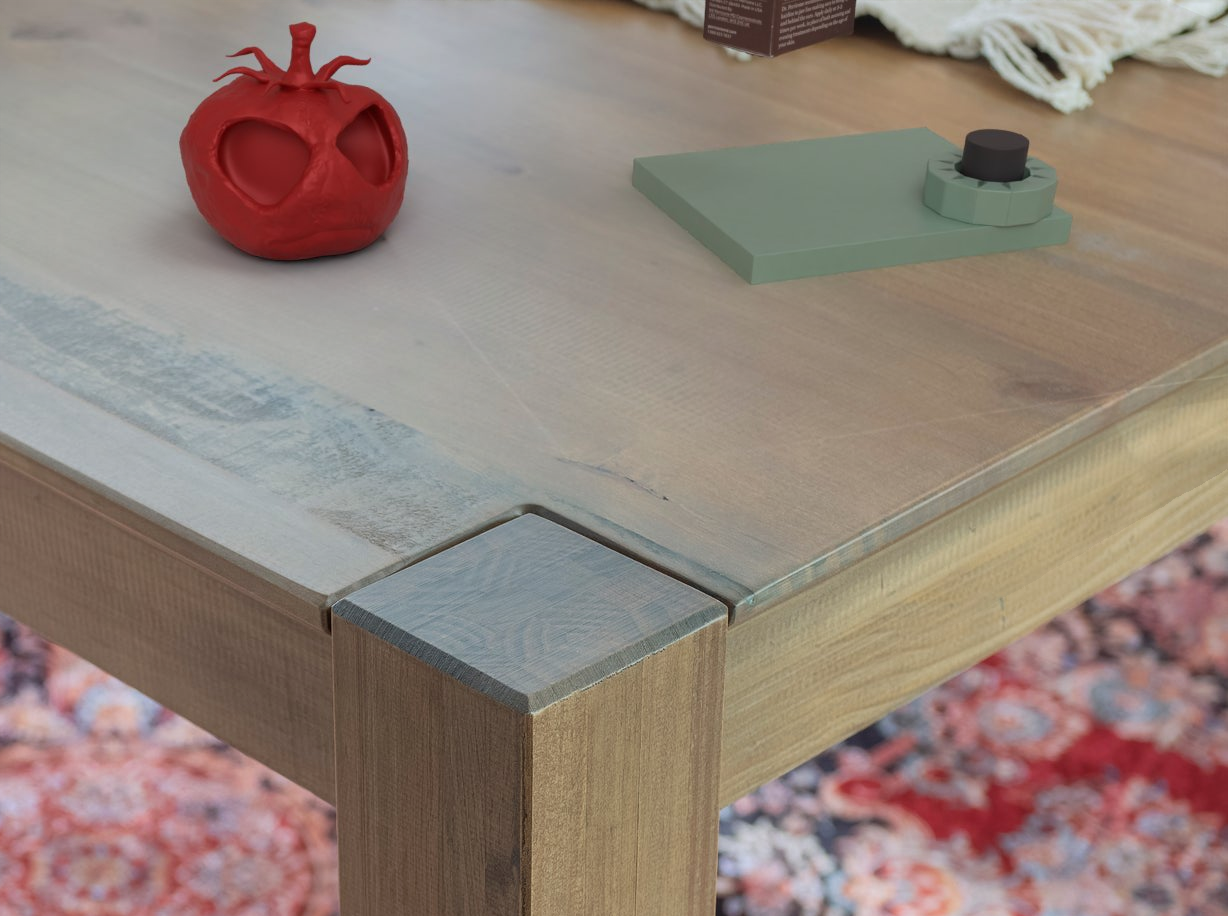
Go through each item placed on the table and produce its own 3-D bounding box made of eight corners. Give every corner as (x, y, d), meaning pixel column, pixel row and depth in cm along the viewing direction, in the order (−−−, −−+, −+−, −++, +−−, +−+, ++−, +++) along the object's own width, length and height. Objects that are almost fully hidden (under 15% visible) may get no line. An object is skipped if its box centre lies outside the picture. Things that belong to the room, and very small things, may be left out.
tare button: (1000, 164, 88) (1007, 126, 86) (1034, 184, 85) (1042, 145, 84) (947, 170, 87) (954, 132, 86) (980, 190, 85) (987, 151, 84)
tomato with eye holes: (169, 210, 89) (151, 2, 83) (376, 188, 91) (372, -14, 86) (213, 290, 81) (197, 67, 75) (437, 264, 84) (437, 47, 78)
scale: (921, 154, 96) (930, 94, 95) (1072, 248, 86) (1085, 183, 85) (631, 186, 92) (635, 124, 90) (754, 290, 82) (761, 222, 80)
